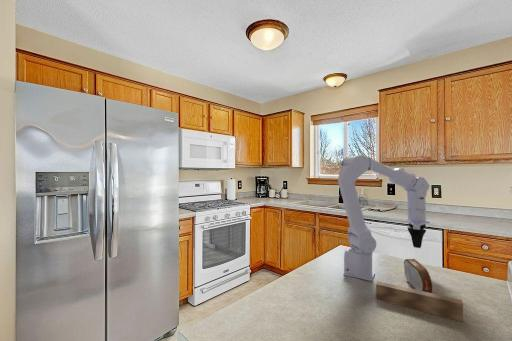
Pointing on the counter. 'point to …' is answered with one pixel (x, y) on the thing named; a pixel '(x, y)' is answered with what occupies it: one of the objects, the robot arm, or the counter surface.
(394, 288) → the walnut board
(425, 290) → the tin
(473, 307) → the counter surface
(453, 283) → the counter surface
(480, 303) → the counter surface
